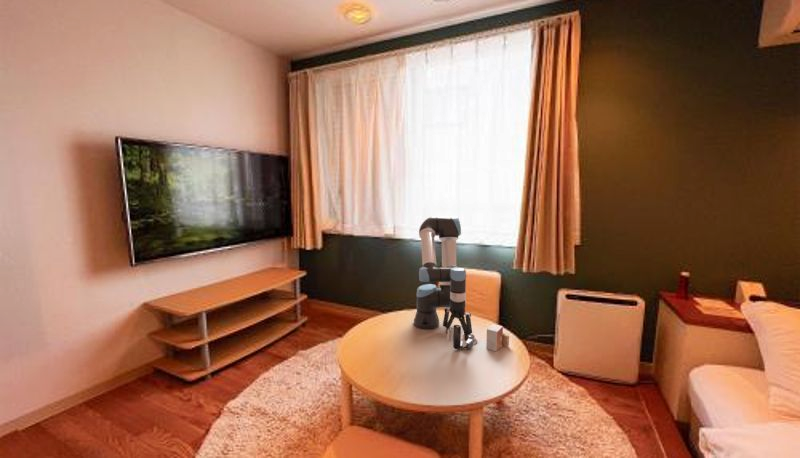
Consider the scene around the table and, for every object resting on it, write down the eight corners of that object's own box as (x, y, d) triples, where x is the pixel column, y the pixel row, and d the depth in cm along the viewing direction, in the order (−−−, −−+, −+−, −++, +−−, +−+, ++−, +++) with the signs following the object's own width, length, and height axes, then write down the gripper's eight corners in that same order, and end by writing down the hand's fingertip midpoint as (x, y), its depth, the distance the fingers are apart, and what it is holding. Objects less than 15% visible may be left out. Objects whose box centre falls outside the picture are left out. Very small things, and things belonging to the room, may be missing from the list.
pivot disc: (458, 340, 175) (458, 339, 175) (469, 336, 180) (469, 335, 180) (469, 346, 169) (469, 345, 169) (480, 342, 173) (480, 341, 173)
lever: (467, 336, 178) (468, 315, 176) (479, 340, 173) (480, 318, 171) (450, 349, 165) (450, 326, 163) (462, 354, 160) (463, 330, 158)
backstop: (494, 341, 174) (494, 330, 173) (496, 340, 175) (496, 329, 174) (506, 347, 167) (507, 336, 167) (508, 346, 168) (509, 335, 167)
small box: (496, 351, 163) (497, 332, 162) (486, 348, 167) (486, 329, 165) (502, 345, 170) (503, 326, 168) (492, 342, 173) (492, 323, 171)
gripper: (435, 296, 164) (435, 339, 168) (473, 307, 151) (471, 353, 154) (443, 293, 170) (443, 334, 173) (480, 302, 156) (479, 347, 160)
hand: (456, 343), depth 164 cm, fingers open, 8 cm apart
